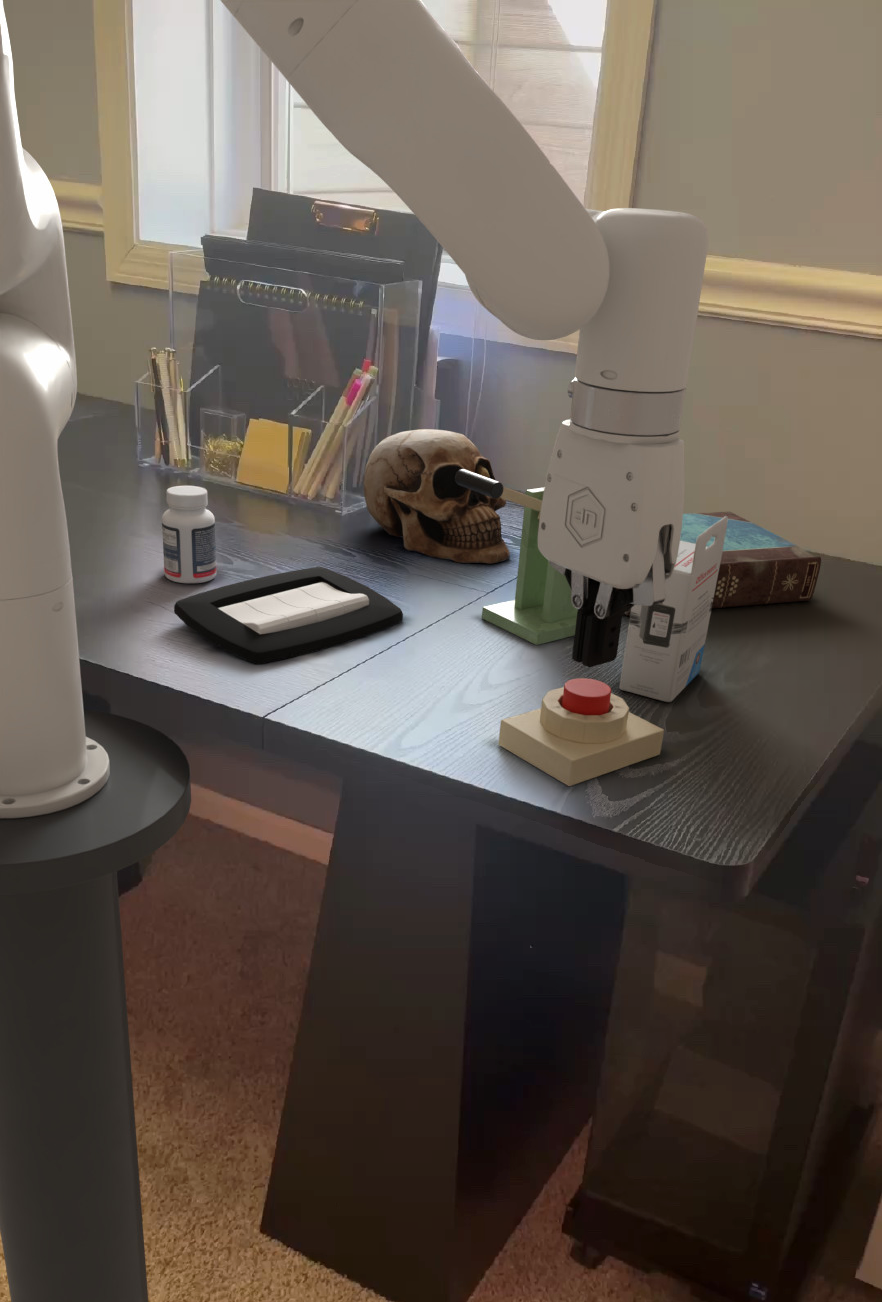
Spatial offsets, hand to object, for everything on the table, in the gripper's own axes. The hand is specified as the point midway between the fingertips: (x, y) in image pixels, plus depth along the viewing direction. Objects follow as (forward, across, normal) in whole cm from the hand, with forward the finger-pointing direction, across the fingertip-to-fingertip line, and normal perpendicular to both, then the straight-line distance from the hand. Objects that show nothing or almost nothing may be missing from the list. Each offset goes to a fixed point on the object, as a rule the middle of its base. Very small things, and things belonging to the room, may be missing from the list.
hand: (593, 660), depth 90 cm
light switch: (+8, -34, -5) cm, 35 cm away
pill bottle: (+8, -50, -7) cm, 51 cm away
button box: (+8, 0, 0) cm, 8 cm away
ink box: (+8, -6, +16) cm, 19 cm away
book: (+8, -24, +39) cm, 46 cm away
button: (+4, 0, 0) cm, 4 cm away
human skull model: (+8, -48, +24) cm, 54 cm away
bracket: (+8, -22, +17) cm, 29 cm away
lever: (-4, -22, +12) cm, 25 cm away
